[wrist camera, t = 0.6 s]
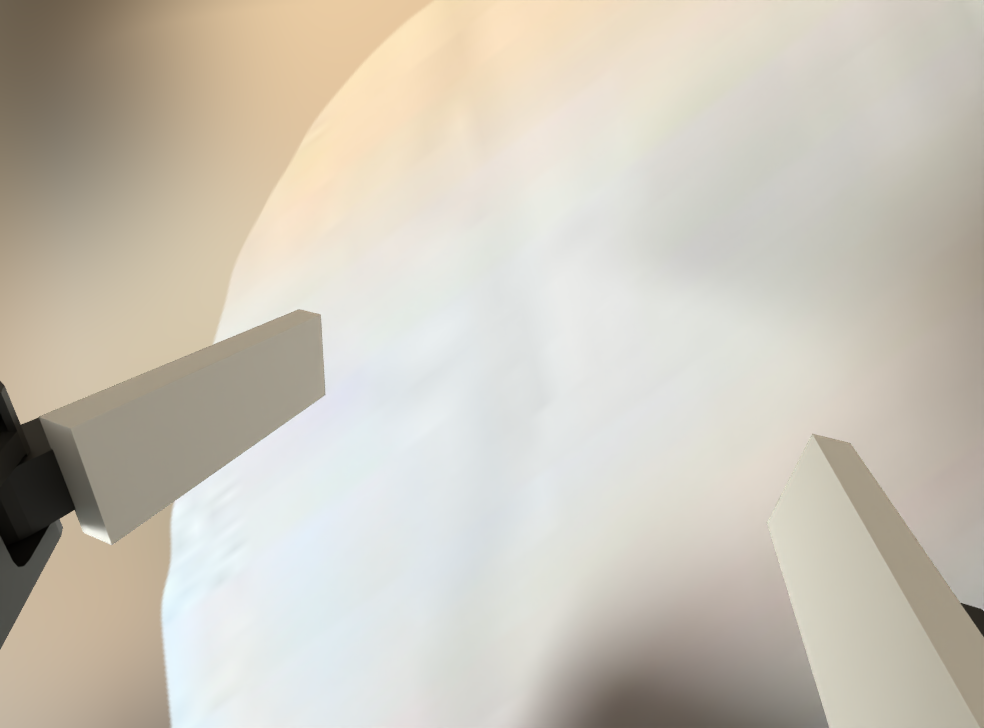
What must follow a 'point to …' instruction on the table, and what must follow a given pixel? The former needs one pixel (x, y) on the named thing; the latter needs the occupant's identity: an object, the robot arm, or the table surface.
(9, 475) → the robot arm
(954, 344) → the table surface
